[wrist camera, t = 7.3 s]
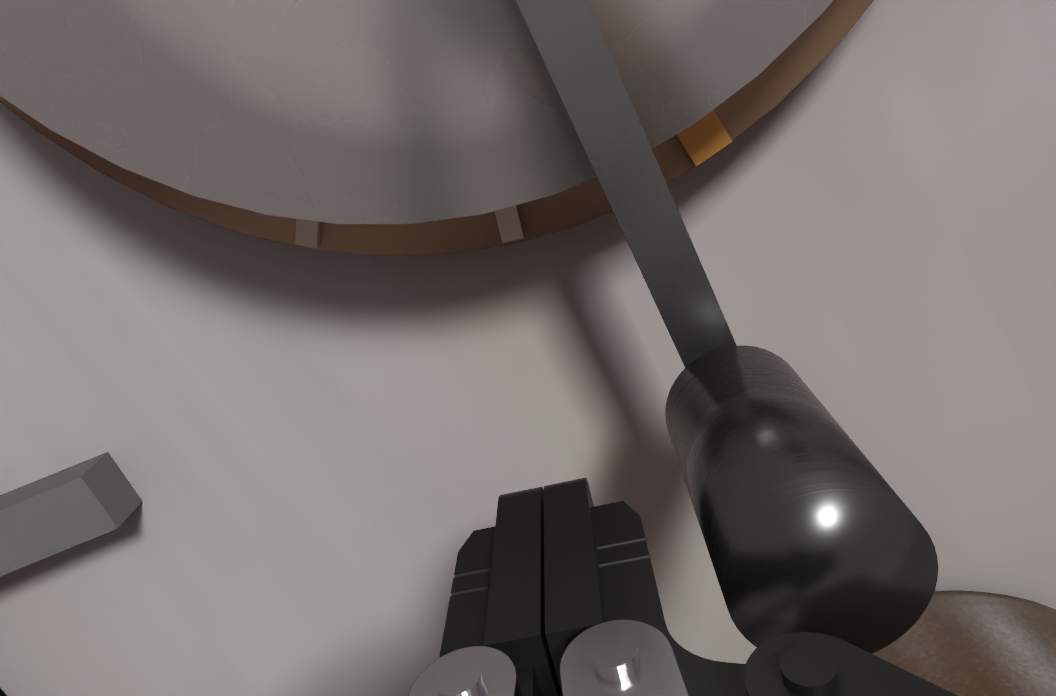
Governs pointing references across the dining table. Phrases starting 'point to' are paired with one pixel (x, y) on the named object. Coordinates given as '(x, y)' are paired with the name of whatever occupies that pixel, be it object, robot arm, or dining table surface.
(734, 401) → the dial
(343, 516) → the dining table surface
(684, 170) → the dial base
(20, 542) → the door handle
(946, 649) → the plant pot
